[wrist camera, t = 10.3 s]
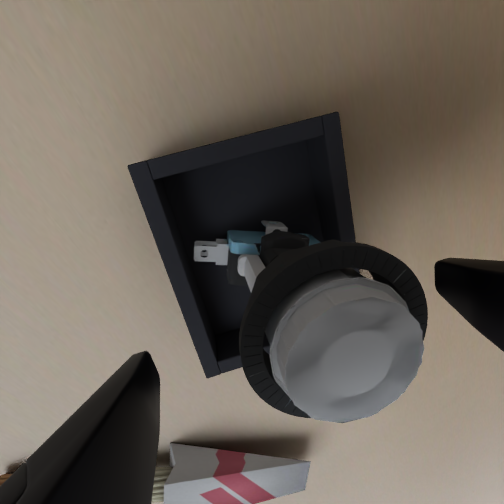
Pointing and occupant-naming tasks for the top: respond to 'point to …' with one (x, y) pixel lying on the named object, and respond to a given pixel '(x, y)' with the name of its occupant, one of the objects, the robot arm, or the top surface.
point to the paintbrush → (223, 477)
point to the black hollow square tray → (240, 215)
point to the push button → (323, 321)
